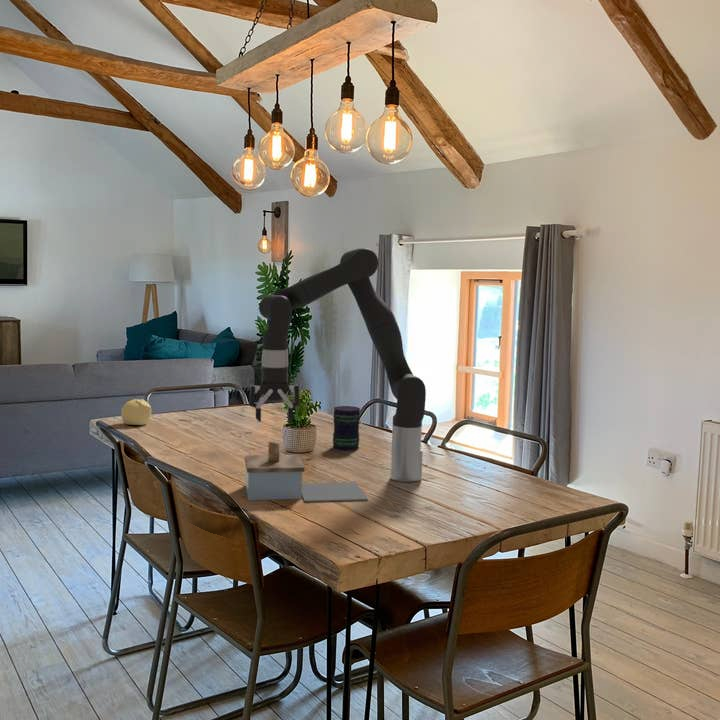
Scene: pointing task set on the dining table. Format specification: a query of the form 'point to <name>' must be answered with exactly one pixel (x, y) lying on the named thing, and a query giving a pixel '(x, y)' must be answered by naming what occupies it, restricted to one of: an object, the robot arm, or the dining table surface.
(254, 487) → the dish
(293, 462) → the lid
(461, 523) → the dining table surface
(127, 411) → the pale yellow rounded lump
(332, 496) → the mat
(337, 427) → the storage jar
